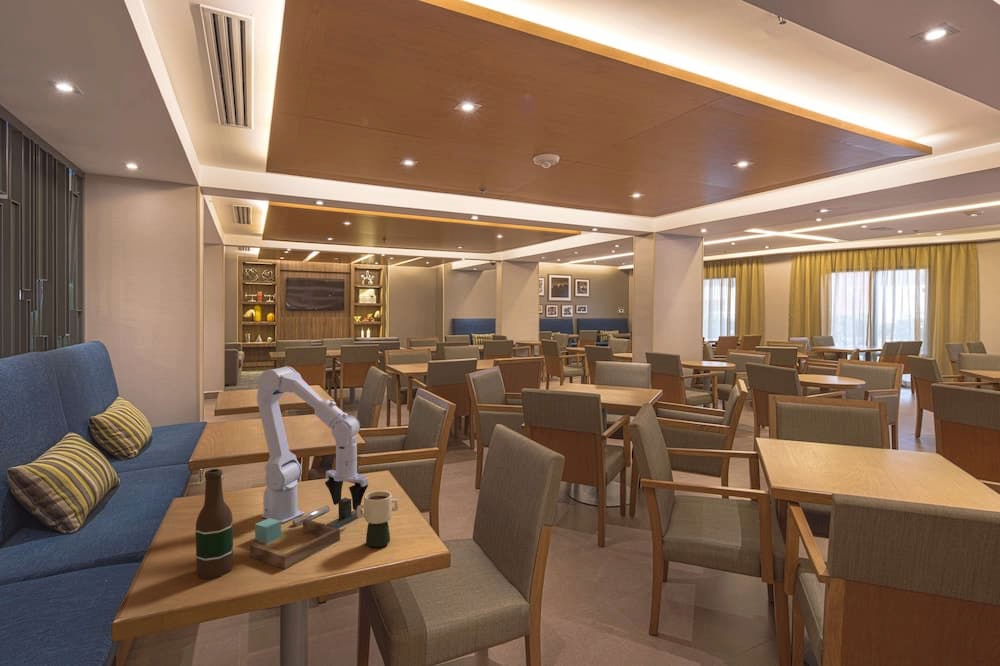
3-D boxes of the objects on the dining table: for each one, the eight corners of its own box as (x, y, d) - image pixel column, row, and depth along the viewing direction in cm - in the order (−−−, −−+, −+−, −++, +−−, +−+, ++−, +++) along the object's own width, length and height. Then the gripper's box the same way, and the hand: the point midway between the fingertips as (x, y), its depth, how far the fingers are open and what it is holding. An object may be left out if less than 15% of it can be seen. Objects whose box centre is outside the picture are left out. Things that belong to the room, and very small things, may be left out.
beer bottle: (209, 562, 124) (207, 465, 123) (240, 563, 124) (238, 465, 123) (188, 579, 116) (186, 475, 115) (222, 580, 116) (220, 476, 115)
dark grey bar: (325, 530, 142) (325, 506, 142) (356, 515, 153) (356, 492, 152) (332, 532, 141) (332, 507, 141) (363, 517, 152) (362, 493, 151)
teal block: (255, 540, 136) (254, 524, 136) (269, 533, 140) (269, 517, 140) (266, 544, 134) (266, 527, 133) (281, 537, 138) (280, 521, 137)
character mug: (394, 534, 140) (393, 487, 139) (402, 544, 134) (402, 496, 133) (353, 542, 135) (353, 494, 134) (360, 554, 129) (360, 503, 128)
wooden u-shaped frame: (250, 556, 127) (249, 544, 127) (306, 529, 142) (306, 519, 142) (285, 569, 121) (284, 557, 121) (340, 540, 136) (339, 529, 136)
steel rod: (297, 527, 144) (297, 520, 144) (292, 526, 145) (292, 519, 145) (329, 512, 155) (329, 505, 155) (325, 511, 156) (324, 504, 156)
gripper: (317, 459, 147) (317, 505, 147) (355, 467, 140) (355, 516, 140) (336, 453, 153) (336, 497, 153) (373, 460, 146) (373, 507, 147)
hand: (346, 506), depth 147 cm, fingers open, 7 cm apart
